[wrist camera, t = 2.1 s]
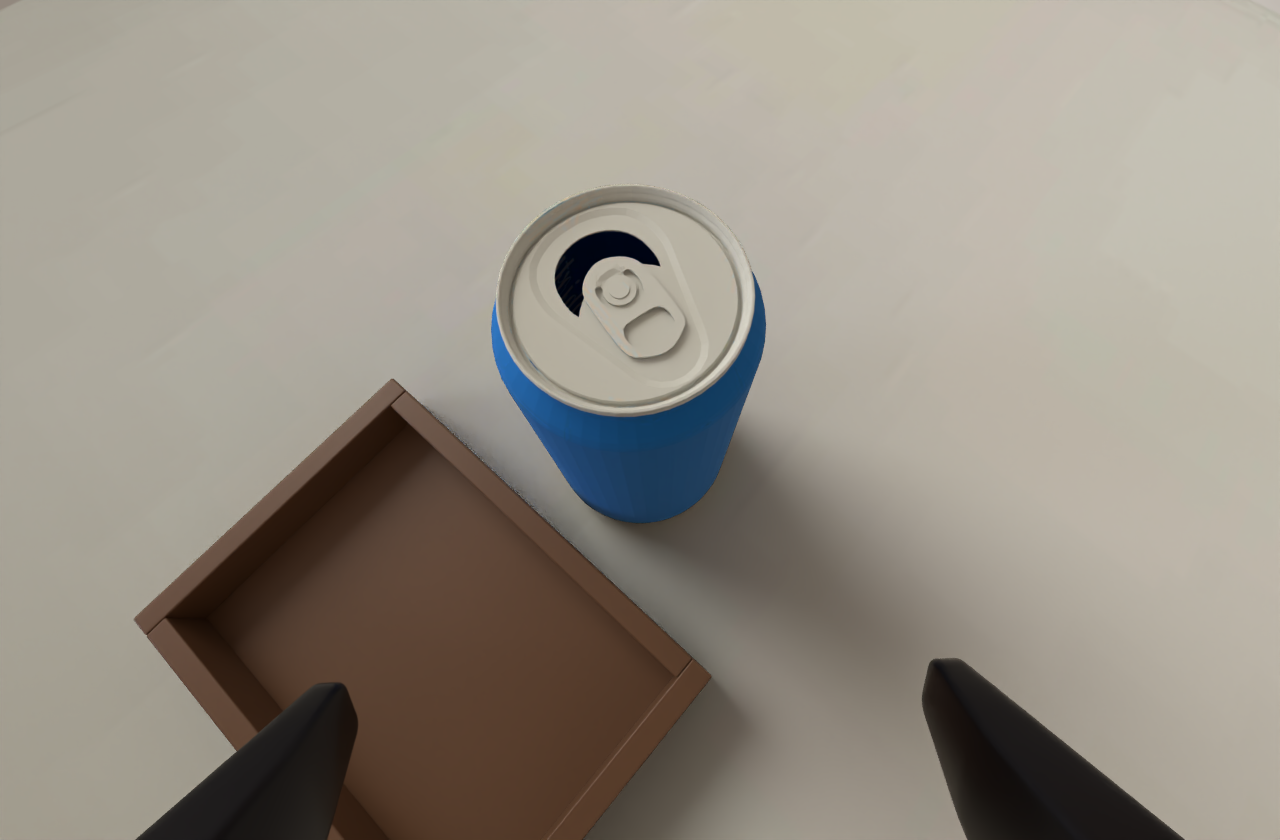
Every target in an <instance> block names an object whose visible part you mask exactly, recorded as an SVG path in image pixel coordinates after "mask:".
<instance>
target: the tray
mask: <svg viewBox="0 0 1280 840" xmlns="http://www.w3.org/2000/svg"><path fill="white" fill-rule="evenodd" d="M134 621H135V622H136V623H137V625H138V626H139V627H140V629H141V630H142V631H143V632H144V634H146V635H147V638H148V639H149V640H150V641H151V643H152V644H153V645H154V646H155V648H156V649H157V650H158V652H159V653H160V654H161V655H162V657H163V658H164V659H165V660H166V662H167V663H168V664H169V666H170V667H171V668H172V669H173V671H174V672H175V673H176V674H177V676H178V677H179V678H180V680H181V681H182V682H183V683H184V685H185V686H186V687H187V688H188V690H189V691H190V692H191V693H192V695H193V696H194V697H195V699H196V700H197V701H198V702H199V704H200V705H201V706H202V707H203V709H204V710H205V711H206V713H207V714H208V715H209V716H210V718H211V719H212V720H213V721H214V723H215V724H216V725H217V727H218V728H219V729H220V730H221V732H222V733H223V734H224V735H225V737H226V738H227V739H228V741H229V742H230V743H231V744H232V746H233V747H234V748H235V749H236V751H238V750H239V749H240V748H241V747H243V746H244V745H245V744H246V743H247V742H248V741H249V740H251V739H252V738H253V737H254V736H255V735H256V734H257V733H259V732H260V731H261V730H262V729H263V728H264V727H265V726H267V725H268V724H269V723H270V722H271V721H272V720H274V719H275V718H276V717H277V716H278V715H279V714H280V713H282V712H283V711H284V710H285V709H286V708H287V707H288V706H290V705H291V704H292V703H293V702H294V701H295V700H297V699H298V698H299V697H300V696H301V695H302V694H303V693H305V692H306V691H307V690H308V689H309V688H310V687H312V686H313V685H315V684H318V683H329V682H341V683H343V684H344V685H345V686H346V687H347V690H348V692H349V695H350V698H351V700H352V703H353V706H354V708H355V711H356V713H357V717H358V732H357V736H356V740H355V743H354V747H353V751H352V754H351V758H350V761H349V765H348V769H347V772H346V776H345V780H344V783H343V787H342V790H341V794H340V798H339V801H338V805H337V808H336V812H335V816H334V819H333V823H332V826H331V829H330V833H329V836H328V839H327V840H583V838H584V837H585V836H586V835H587V833H588V832H589V831H590V830H591V828H592V827H593V826H594V825H595V823H596V822H597V821H598V820H599V818H600V817H601V816H602V815H603V813H604V812H605V811H606V810H607V808H608V807H609V806H610V805H611V803H612V802H613V801H614V799H615V798H616V797H617V796H618V794H619V793H620V792H621V791H622V789H623V788H624V787H625V786H626V784H627V783H628V782H629V781H630V779H631V778H632V777H633V776H634V774H635V773H636V772H637V771H638V769H639V768H640V767H641V766H642V764H643V763H644V762H645V760H646V759H647V758H648V757H649V755H650V754H651V753H652V752H653V750H654V749H655V748H656V747H657V745H658V744H659V743H660V742H661V740H662V739H663V738H664V737H665V735H666V734H667V733H668V732H669V730H670V729H671V728H672V727H673V725H674V724H675V723H676V722H677V720H678V719H679V718H680V716H681V715H682V714H683V713H684V711H685V710H686V709H687V708H688V706H689V705H690V704H691V703H692V701H693V700H694V699H695V698H696V696H697V695H698V694H699V693H700V691H701V690H702V689H703V688H704V686H705V685H706V684H707V683H708V681H709V680H710V679H711V677H712V676H711V675H710V674H709V673H708V672H707V671H706V670H705V669H704V668H703V667H702V666H701V665H700V664H699V663H698V662H697V661H696V660H695V659H694V658H693V657H692V656H690V655H689V654H688V653H687V652H686V651H685V650H684V649H683V648H682V647H681V646H680V645H679V644H678V643H677V642H675V641H674V640H673V639H672V638H671V637H670V636H669V635H668V634H667V633H666V632H665V631H664V630H663V629H662V628H660V627H659V626H658V625H657V624H656V623H655V622H654V621H653V620H652V619H651V618H650V617H649V616H648V615H647V614H645V613H644V612H643V611H642V610H641V609H640V608H639V607H638V606H637V605H636V604H635V603H634V602H633V601H632V600H630V599H629V598H628V597H627V596H626V595H625V594H624V593H623V592H622V591H621V590H620V589H619V588H618V587H617V586H615V585H614V584H613V583H612V582H611V581H610V580H609V579H608V578H607V577H606V576H605V575H604V574H603V573H602V572H600V571H599V570H598V569H597V568H596V567H595V566H594V565H593V564H592V563H591V562H590V561H589V560H588V559H587V558H585V557H584V556H583V555H582V554H581V553H580V552H579V551H578V550H577V549H576V548H575V547H574V546H573V545H572V544H570V543H569V542H568V541H567V540H566V539H565V538H564V537H563V536H562V535H561V534H560V533H559V532H558V531H557V530H555V529H554V528H553V527H552V526H551V525H550V524H549V523H548V522H547V521H546V520H545V519H544V518H543V517H542V516H540V515H539V514H538V513H537V512H536V511H535V510H534V509H533V508H532V507H531V506H530V505H529V504H528V503H527V502H525V501H524V500H523V499H522V498H521V497H520V496H519V495H518V494H517V493H516V492H515V491H514V490H513V489H512V488H510V487H509V486H508V485H507V484H506V483H505V482H504V481H503V480H502V479H501V478H500V477H499V476H498V475H496V474H495V473H494V472H493V471H492V470H491V469H490V468H489V467H488V466H487V465H486V464H485V463H484V462H483V461H481V460H480V459H479V458H478V457H477V456H476V455H475V454H474V453H473V452H472V451H471V450H470V449H469V448H468V447H466V446H465V445H464V444H463V443H462V442H461V441H460V440H459V439H458V438H457V437H456V436H455V435H454V434H453V433H451V432H450V431H449V430H448V429H447V428H446V427H445V426H444V425H443V424H442V423H441V422H440V421H439V420H438V419H436V418H435V417H434V416H433V415H432V414H431V413H430V412H429V411H428V410H427V409H426V408H425V407H424V406H423V405H421V404H420V403H419V402H418V401H417V400H416V399H415V398H414V397H413V396H412V395H411V394H410V393H408V392H407V391H406V390H405V389H404V388H403V387H402V386H401V385H400V384H399V383H398V382H396V381H395V380H394V379H391V380H390V381H388V382H387V383H386V384H385V385H384V386H383V387H382V388H381V389H380V390H379V391H378V392H377V393H376V394H375V395H373V396H372V397H371V398H370V399H369V400H368V401H367V402H366V403H365V404H364V405H363V406H362V407H361V408H359V409H358V410H357V411H356V412H355V413H354V414H353V415H352V416H351V417H350V418H349V419H348V420H347V421H346V422H344V423H343V424H342V425H341V426H340V427H339V428H338V429H337V430H336V431H335V432H334V433H333V434H332V435H330V436H329V437H328V438H327V439H326V440H325V441H324V442H323V443H322V444H321V445H320V446H319V447H318V448H316V449H315V450H314V451H313V452H312V453H311V454H310V455H309V456H308V457H307V458H306V459H305V460H304V461H303V462H301V463H300V464H299V465H298V466H297V467H296V468H295V469H294V470H293V471H292V472H291V473H290V474H289V475H287V476H286V477H285V478H284V479H283V480H282V481H281V482H280V483H279V484H278V485H277V486H276V487H275V488H273V489H272V490H271V491H270V492H269V493H268V494H267V495H266V496H265V497H264V498H263V499H262V500H261V501H260V502H258V503H257V504H256V505H255V506H254V507H253V508H252V509H251V510H250V511H249V512H248V513H247V514H246V515H244V516H243V517H242V518H241V519H240V520H239V521H238V522H237V523H236V524H235V525H234V526H233V527H232V528H230V529H229V530H228V531H227V532H226V533H225V534H224V535H223V536H222V537H221V538H220V539H219V540H218V541H217V542H215V543H214V544H213V545H212V546H211V547H210V548H209V549H208V550H207V551H206V552H205V553H204V554H203V555H201V556H200V557H199V558H198V559H197V560H196V561H195V562H194V563H193V564H192V565H191V566H190V567H189V568H187V569H186V570H185V571H184V572H183V573H182V574H181V575H180V576H179V577H178V578H177V579H176V580H175V581H174V582H172V583H171V584H170V585H169V586H168V587H167V588H166V589H165V590H164V591H163V592H162V593H161V594H160V595H158V596H157V597H156V598H155V599H154V600H153V601H152V602H151V603H150V604H149V605H148V606H147V607H146V608H144V609H143V610H142V611H141V612H140V613H139V614H138V615H137V616H136V617H135V618H134Z"/></svg>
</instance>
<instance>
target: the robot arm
mask: <svg viewBox="0 0 1280 840" xmlns="http://www.w3.org/2000/svg"><path fill="white" fill-rule="evenodd" d="M922 707H923V711H924V715H925V718H926V721H927V724H928V727H929V730H930V733H931V736H932V739H933V742H934V745H935V749H936V752H937V755H938V758H939V761H940V764H941V767H942V770H943V773H944V776H945V779H946V783H947V786H948V789H949V792H950V795H951V798H952V801H953V804H954V807H955V810H956V812H957V815H958V818H959V821H960V823H961V825H962V828H963V830H964V833H965V835H966V838H967V840H1185V839H1183V838H1182V837H1181V836H1180V835H1179V834H1177V833H1176V832H1175V831H1174V830H1172V829H1171V828H1170V827H1169V826H1167V825H1166V824H1165V823H1164V822H1162V821H1161V820H1160V819H1159V818H1157V817H1156V816H1155V815H1154V814H1152V813H1151V812H1150V811H1149V810H1148V809H1146V808H1145V807H1144V806H1143V805H1141V804H1140V803H1139V802H1138V801H1136V800H1135V799H1134V798H1133V797H1131V796H1130V795H1129V794H1128V793H1126V792H1125V791H1124V790H1123V789H1121V788H1120V787H1119V786H1118V785H1117V784H1115V783H1114V782H1113V781H1112V780H1110V779H1109V778H1108V777H1107V776H1105V775H1104V774H1103V773H1102V772H1100V771H1099V770H1098V769H1097V768H1095V767H1094V766H1093V765H1092V764H1091V763H1089V762H1088V761H1087V760H1086V759H1084V758H1083V757H1082V756H1081V755H1079V754H1078V753H1077V752H1076V751H1074V750H1073V749H1072V748H1071V747H1069V746H1068V745H1067V744H1066V743H1064V742H1063V741H1062V740H1061V739H1060V738H1058V737H1057V736H1056V735H1055V734H1053V733H1052V732H1051V731H1050V730H1048V729H1047V728H1046V727H1045V726H1043V725H1042V724H1041V723H1040V722H1038V721H1037V720H1036V719H1035V718H1033V717H1032V716H1031V715H1030V714H1029V713H1027V712H1026V711H1025V710H1024V709H1022V708H1021V707H1020V706H1019V705H1017V704H1016V703H1015V702H1014V701H1012V700H1011V699H1010V698H1009V697H1007V696H1006V695H1005V694H1004V693H1003V692H1001V691H1000V690H999V689H998V688H996V687H995V686H994V685H993V684H991V683H990V682H989V681H988V680H986V679H985V678H984V677H983V676H981V675H980V674H979V673H978V672H976V671H975V670H974V669H973V668H972V667H970V666H969V665H968V664H967V663H965V662H964V661H962V660H960V659H958V658H940V659H933V660H932V661H931V662H930V663H929V666H928V670H927V675H926V679H925V684H924V688H923V693H922ZM357 732H358V717H357V713H356V711H355V708H354V706H353V703H352V700H351V698H350V695H349V692H348V690H347V687H346V686H345V685H344V684H343V683H341V682H329V683H318V684H315V685H313V686H312V687H310V688H309V689H308V690H307V691H306V692H305V693H303V694H302V695H301V696H300V697H299V698H298V699H297V700H295V701H294V702H293V703H292V704H291V705H290V706H288V707H287V708H286V709H285V710H284V711H283V712H282V713H280V714H279V715H278V716H277V717H276V718H275V719H274V720H272V721H271V722H270V723H269V724H268V725H267V726H265V727H264V728H263V729H262V730H261V731H260V732H259V733H257V734H256V735H255V736H254V737H253V738H252V739H251V740H249V741H248V742H247V743H246V744H245V745H244V746H243V747H241V748H240V749H239V750H238V751H237V752H236V753H234V754H233V755H232V756H231V757H230V758H229V759H228V760H226V761H225V762H224V763H223V764H222V765H221V766H220V767H218V768H217V769H216V770H215V771H214V772H213V773H211V774H210V775H209V776H208V777H207V778H206V779H205V780H203V781H202V782H201V783H200V784H199V785H198V786H197V787H195V788H194V789H193V790H192V791H191V792H190V793H188V794H187V795H186V796H185V797H184V798H183V799H182V800H180V801H179V802H178V803H177V804H176V805H175V806H174V807H172V808H171V809H170V810H169V811H168V812H167V813H165V814H164V815H163V816H162V817H161V818H160V819H159V820H157V821H156V822H155V823H154V824H153V825H152V826H151V827H149V828H148V829H147V830H146V831H145V832H144V833H142V834H141V835H140V836H139V837H138V838H137V839H136V840H327V839H328V836H329V833H330V829H331V826H332V823H333V819H334V816H335V812H336V808H337V805H338V801H339V798H340V794H341V790H342V787H343V783H344V780H345V776H346V772H347V769H348V765H349V761H350V758H351V754H352V751H353V747H354V743H355V740H356V736H357Z"/></svg>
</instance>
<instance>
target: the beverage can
mask: <svg viewBox="0 0 1280 840" xmlns="http://www.w3.org/2000/svg"><path fill="white" fill-rule="evenodd" d="M765 332H766V319H765V308H764V303H763V299H762V295H761V291H760V288H759V285H758V283H757V280H756V278H755V275H754V274H753V272H752V270H751V266H750V263H749V261H748V258H747V256H746V253H745V251H744V249H743V248H742V246H741V244H740V242H739V241H738V239H737V238H736V236H735V235H734V234H733V232H732V231H731V230H730V228H729V227H728V226H727V225H726V224H725V223H724V222H723V221H722V220H721V219H720V218H719V217H718V216H717V215H715V214H714V213H713V212H711V211H710V210H709V209H708V208H706V207H705V206H703V205H701V204H700V203H698V202H696V201H695V200H693V199H691V198H689V197H687V196H684V195H682V194H680V193H677V192H674V191H671V190H668V189H664V188H660V187H655V186H650V185H640V184H615V185H607V186H600V187H596V188H592V189H588V190H584V191H582V192H579V193H576V194H574V195H571V196H569V197H567V198H565V199H563V200H561V201H559V202H557V203H555V204H554V205H552V206H551V207H549V208H548V209H546V210H545V211H543V212H542V213H541V214H540V215H538V216H537V217H536V218H535V219H534V220H532V221H531V222H530V223H529V224H528V226H527V227H526V228H525V229H524V230H523V231H522V232H521V233H520V235H519V236H518V237H517V239H516V240H515V242H514V243H513V244H512V246H511V248H510V250H509V252H508V254H507V255H506V257H505V260H504V262H503V265H502V268H501V270H500V274H499V278H498V283H497V290H496V299H495V304H494V308H493V313H492V326H491V333H492V347H493V352H494V356H495V361H496V365H497V367H498V370H499V373H500V375H501V378H502V380H503V382H504V384H505V385H506V387H507V389H508V391H509V393H510V394H511V396H512V397H513V399H514V400H515V402H516V403H517V405H518V406H519V408H520V410H521V411H522V413H523V414H524V416H525V417H526V419H527V420H528V422H529V423H530V425H531V426H532V428H533V429H534V431H535V432H536V434H537V436H538V437H539V439H540V440H541V442H542V443H543V445H544V446H545V448H546V449H547V451H548V452H549V454H550V455H551V457H552V458H553V460H554V461H555V463H556V465H557V466H558V468H559V469H560V471H561V472H562V474H563V475H564V477H565V478H566V480H567V481H568V483H569V484H570V486H571V487H572V489H573V490H574V491H575V493H576V494H577V495H578V496H579V497H580V498H581V499H582V500H583V501H584V502H585V503H586V504H587V505H589V506H590V507H591V508H593V509H594V510H596V511H598V512H599V513H601V514H603V515H605V516H608V517H610V518H613V519H616V520H620V521H624V522H631V523H650V522H657V521H661V520H665V519H668V518H671V517H674V516H676V515H678V514H680V513H682V512H684V511H685V510H687V509H689V508H690V507H691V506H693V505H694V504H695V503H696V502H698V501H699V500H700V499H701V498H702V497H703V496H704V495H705V494H706V492H707V491H708V490H709V488H710V487H711V486H712V484H713V482H714V480H715V479H716V477H717V475H718V472H719V470H720V467H721V464H722V462H723V459H724V456H725V454H726V451H727V448H728V446H729V443H730V440H731V438H732V435H733V432H734V430H735V427H736V424H737V422H738V419H739V416H740V414H741V411H742V408H743V406H744V403H745V400H746V398H747V395H748V392H749V390H750V387H751V384H752V382H753V379H754V376H755V374H756V371H757V368H758V366H759V363H760V360H761V357H762V353H763V348H764V343H765Z"/></svg>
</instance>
